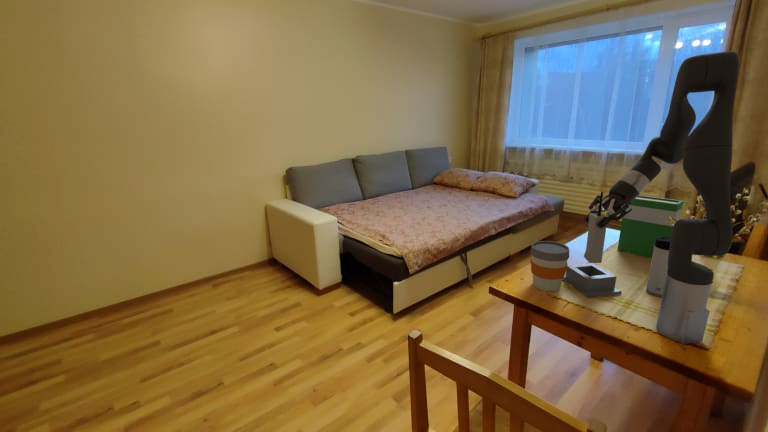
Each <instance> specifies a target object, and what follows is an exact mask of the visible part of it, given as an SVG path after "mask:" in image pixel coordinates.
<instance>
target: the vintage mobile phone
mask: <svg viewBox="0 0 768 432" xmlns="http://www.w3.org/2000/svg"><path fill="white" fill-rule="evenodd" d="M602 197H604V192H603V191H601V192H600V204H599V209H597V211H598V213H590V212H589V213H588V214H589V221H588V223H587V228H588V231H587V238H586V247H585V252H584V253H583V258H584V259H585V260H586V261H587V262H588V263H594V264H601V263H602V261H603V254H604V247H605V240H606V233H607V226H608V224H607V225H606V226H605V227H604V228H602V229H601V228H599V227H598V226H597V223H598V222H599V221H600V220H601V219H602V218H603V217H604V216H605V217H606V215H605V214H602V212H601V208H603V207H602Z"/></svg>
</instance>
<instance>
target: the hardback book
mask: <svg viewBox="0 0 768 432" xmlns="http://www.w3.org/2000/svg"><path fill="white" fill-rule="evenodd" d="M628 205H629V206H630V207H631V208H632V211H630V212H629V213H628V214H626V215H625V216H624V217H623V218H621V225H620V232H619V237H618V244H617V251H619V252H623V251H624V252H623V253H627V254H632V255H636V256H641V257H644V258H649V259H652V256H653V250H654V245H655V241H656V238H661V237H671V233H672V229H673V225H671V223H670V224H669V222H670V221H671V219H670V218H669V217H670V216H672V217H674V218H675V219H676V220H677V221H678V220H680V219H681V215H682V209H683V205H684V200H681V199H672V198H663V197H658V196H657V197H655V196H647V195H641V194H639V195H638V196H637V197H636V198H635V199H634V200H633V201H632V202H631V203H630V204H628ZM661 216H662V217H661ZM659 217H660V218H659ZM666 220H667V222H668V221H669V222H668V223H666Z"/></svg>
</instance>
